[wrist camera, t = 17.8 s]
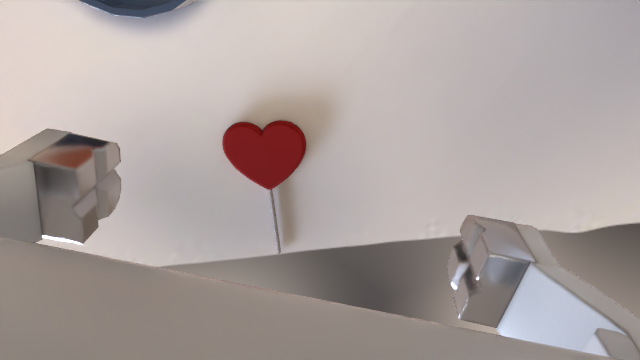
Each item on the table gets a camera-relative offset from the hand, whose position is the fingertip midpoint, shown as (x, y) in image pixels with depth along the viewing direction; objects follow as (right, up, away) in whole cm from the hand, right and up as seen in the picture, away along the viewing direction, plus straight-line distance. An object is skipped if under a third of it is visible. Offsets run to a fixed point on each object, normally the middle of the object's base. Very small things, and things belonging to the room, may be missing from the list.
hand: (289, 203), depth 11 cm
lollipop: (-4, 0, +36) cm, 36 cm away
